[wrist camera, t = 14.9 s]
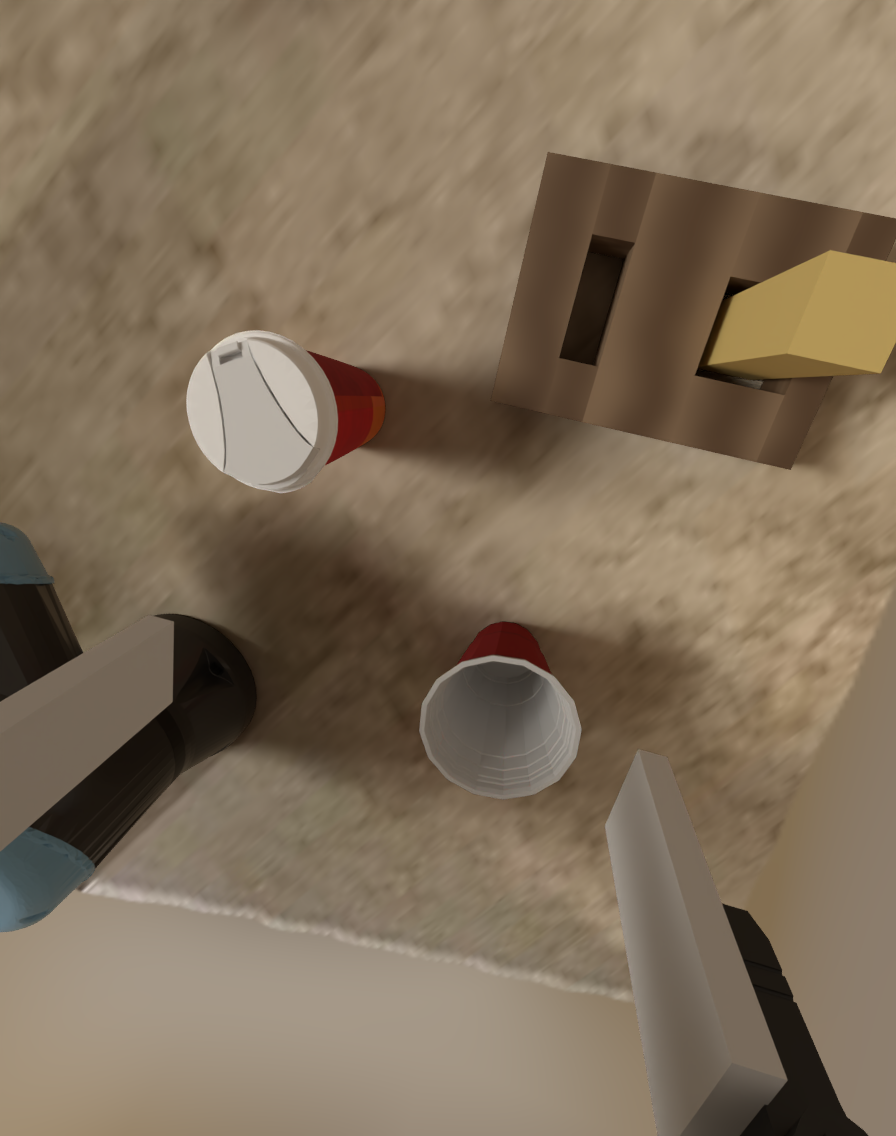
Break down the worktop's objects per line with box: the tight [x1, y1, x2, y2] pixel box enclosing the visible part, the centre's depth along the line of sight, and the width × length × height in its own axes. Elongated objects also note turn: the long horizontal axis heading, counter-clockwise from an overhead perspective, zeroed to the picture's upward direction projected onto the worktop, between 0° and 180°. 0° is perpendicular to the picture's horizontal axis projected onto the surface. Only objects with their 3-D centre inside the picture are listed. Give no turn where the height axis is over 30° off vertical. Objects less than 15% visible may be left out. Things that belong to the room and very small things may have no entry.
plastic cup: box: [419, 622, 582, 800], centre depth 39 cm, size 11×11×12 cm
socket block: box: [491, 152, 896, 470], centre depth 33 cm, size 20×14×4 cm
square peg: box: [698, 250, 896, 380], centre depth 28 cm, size 4×4×14 cm
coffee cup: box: [187, 330, 385, 493], centre depth 33 cm, size 8×8×15 cm
